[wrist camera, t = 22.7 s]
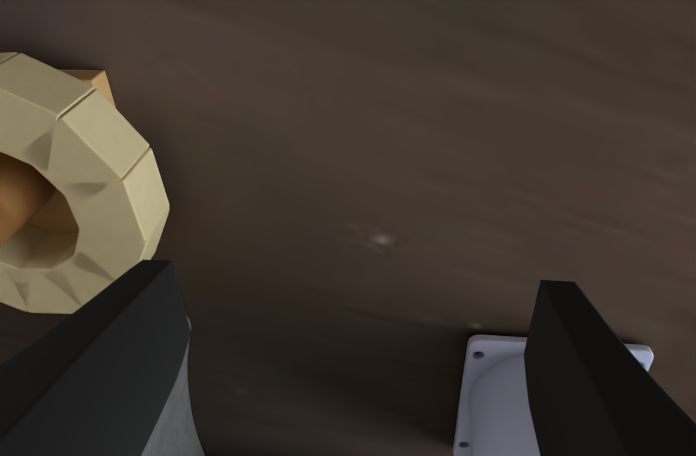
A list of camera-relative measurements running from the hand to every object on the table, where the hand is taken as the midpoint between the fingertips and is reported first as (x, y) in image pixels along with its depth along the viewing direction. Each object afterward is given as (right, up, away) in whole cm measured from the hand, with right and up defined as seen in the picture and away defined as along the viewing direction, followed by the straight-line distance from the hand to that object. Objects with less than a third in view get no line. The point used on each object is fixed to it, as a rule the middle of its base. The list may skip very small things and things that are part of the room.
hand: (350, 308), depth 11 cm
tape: (-12, +4, +11) cm, 17 cm away
